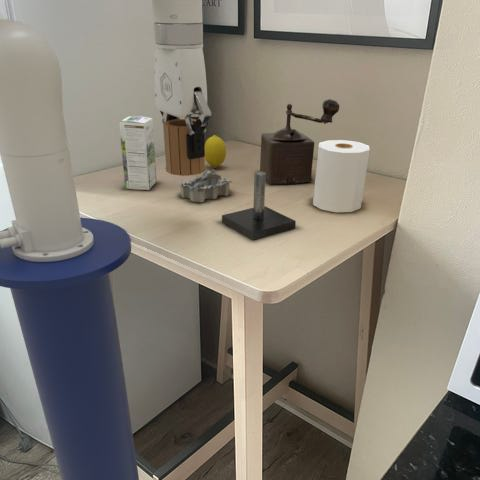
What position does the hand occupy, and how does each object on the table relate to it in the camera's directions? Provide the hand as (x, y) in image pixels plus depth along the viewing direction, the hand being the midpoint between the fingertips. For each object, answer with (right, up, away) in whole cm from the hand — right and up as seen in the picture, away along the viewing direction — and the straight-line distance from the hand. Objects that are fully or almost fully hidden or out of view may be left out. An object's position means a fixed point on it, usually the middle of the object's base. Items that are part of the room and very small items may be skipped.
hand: (184, 152), depth 87 cm
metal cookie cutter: (+2, -2, +21) cm, 22 cm away
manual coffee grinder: (+23, +5, +33) cm, 41 cm away
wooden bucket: (0, -3, +2) cm, 3 cm away
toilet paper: (+30, -5, +18) cm, 36 cm away
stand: (+13, -11, +7) cm, 19 cm away
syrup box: (-13, +1, +26) cm, 29 cm away
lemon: (+3, +9, +39) cm, 40 cm away
